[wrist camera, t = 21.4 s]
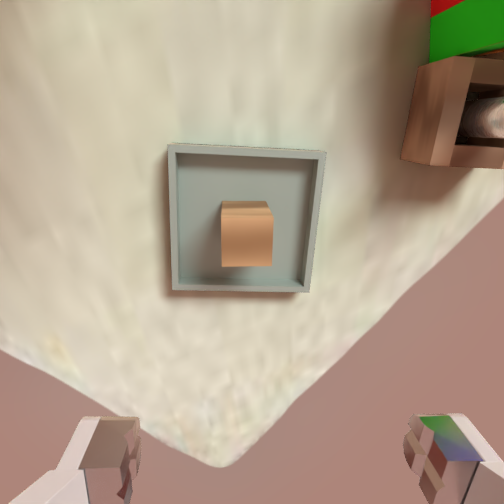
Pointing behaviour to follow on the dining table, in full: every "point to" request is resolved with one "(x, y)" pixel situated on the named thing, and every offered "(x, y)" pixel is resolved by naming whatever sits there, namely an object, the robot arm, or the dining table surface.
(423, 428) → the robot arm
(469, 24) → the puzzle toy
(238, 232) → the oak block
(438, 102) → the brown square socket box
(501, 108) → the cylinder
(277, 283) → the tray
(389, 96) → the dining table surface
